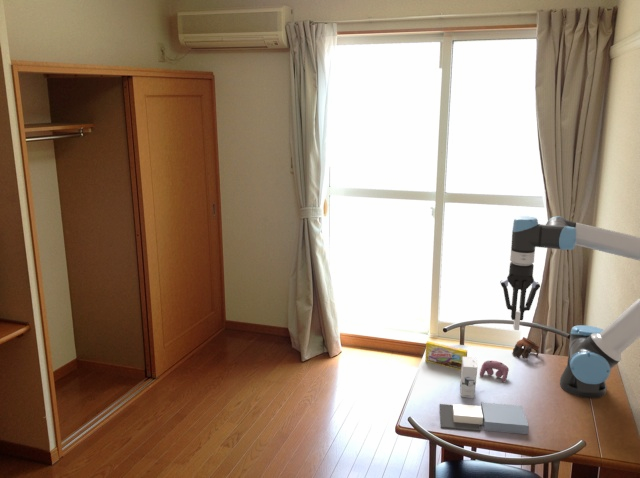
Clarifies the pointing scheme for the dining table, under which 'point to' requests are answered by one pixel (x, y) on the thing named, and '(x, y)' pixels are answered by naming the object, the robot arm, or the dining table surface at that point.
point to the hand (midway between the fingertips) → (516, 328)
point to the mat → (449, 423)
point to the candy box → (444, 355)
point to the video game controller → (495, 365)
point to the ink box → (468, 377)
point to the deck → (504, 418)
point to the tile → (467, 414)
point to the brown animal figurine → (525, 348)
